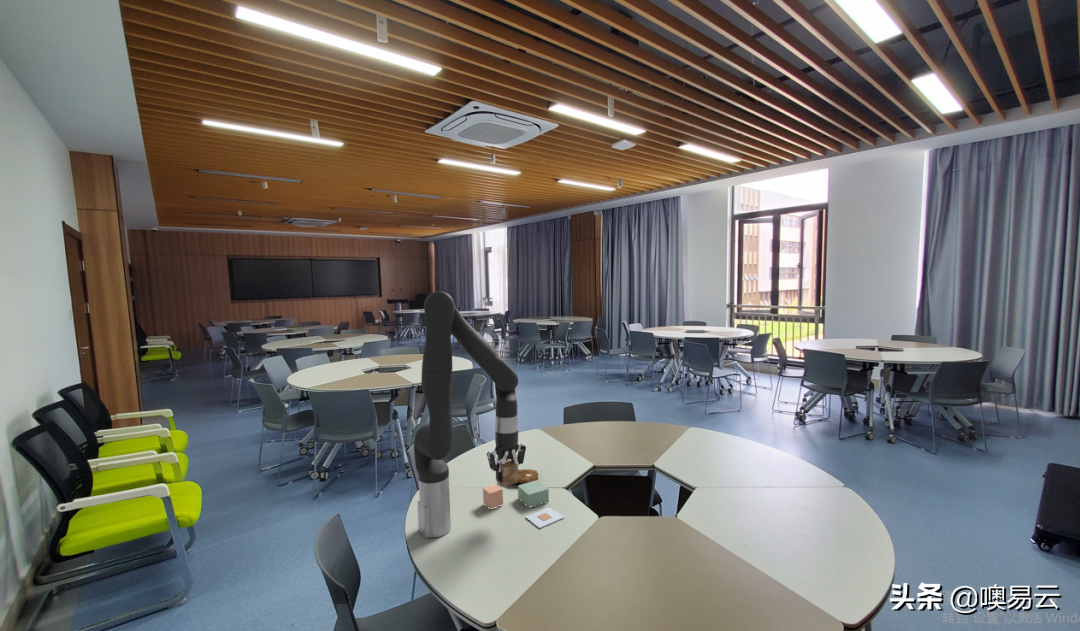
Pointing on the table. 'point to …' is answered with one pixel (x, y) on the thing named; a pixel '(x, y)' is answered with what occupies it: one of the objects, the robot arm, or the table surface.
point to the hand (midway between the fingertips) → (507, 479)
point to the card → (544, 517)
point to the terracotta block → (492, 496)
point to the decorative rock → (527, 476)
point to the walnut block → (509, 473)
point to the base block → (533, 493)
